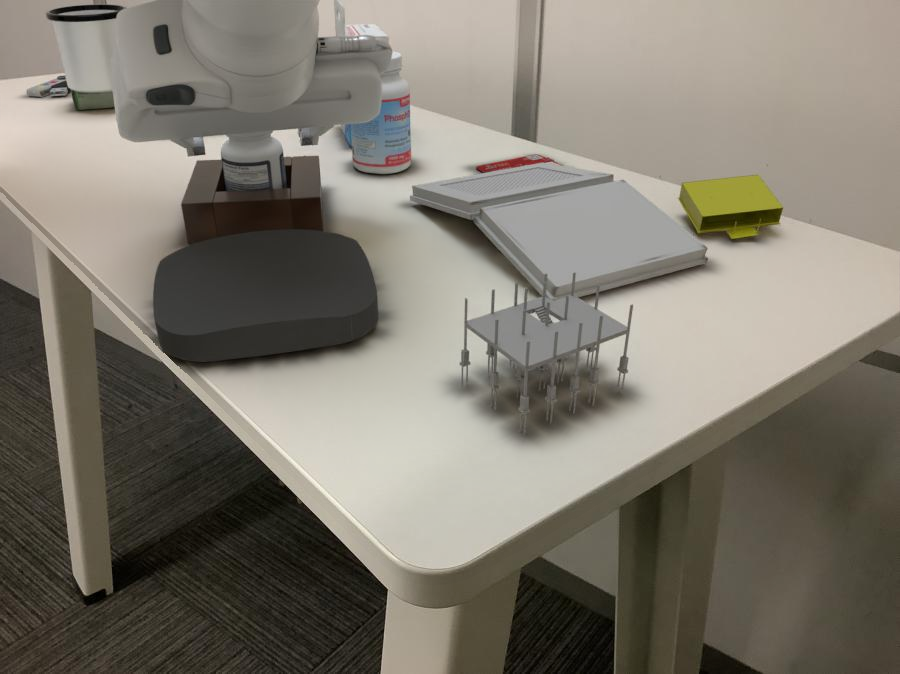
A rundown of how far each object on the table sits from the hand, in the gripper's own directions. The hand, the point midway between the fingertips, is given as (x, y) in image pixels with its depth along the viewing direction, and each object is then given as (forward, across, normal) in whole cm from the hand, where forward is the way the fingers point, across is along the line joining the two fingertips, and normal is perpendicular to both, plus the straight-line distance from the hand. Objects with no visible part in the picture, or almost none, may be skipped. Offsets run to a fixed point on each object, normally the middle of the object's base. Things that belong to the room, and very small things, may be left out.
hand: (252, 143), depth 69 cm
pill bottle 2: (+12, -14, -2) cm, 18 cm away
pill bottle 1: (+5, 0, +5) cm, 7 cm away
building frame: (-19, -13, +28) cm, 36 cm away
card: (+6, -28, +3) cm, 28 cm away
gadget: (-3, -23, +13) cm, 26 cm away
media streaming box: (-8, +2, +17) cm, 19 cm away
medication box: (+37, +12, -29) cm, 49 cm away
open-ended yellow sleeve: (-8, -38, +13) cm, 41 cm away
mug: (+34, +13, -28) cm, 46 cm away
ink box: (+20, -15, -10) cm, 26 cm away
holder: (+5, 0, +5) cm, 7 cm away
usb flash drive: (+43, +22, -35) cm, 60 cm away
